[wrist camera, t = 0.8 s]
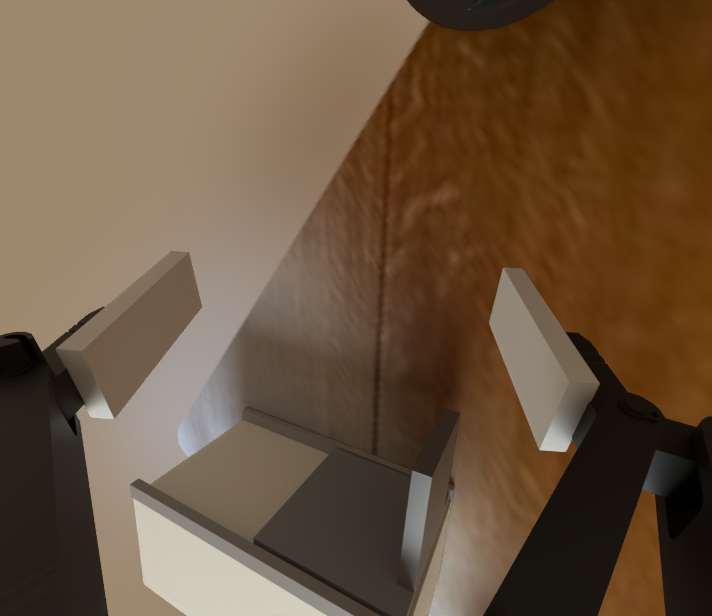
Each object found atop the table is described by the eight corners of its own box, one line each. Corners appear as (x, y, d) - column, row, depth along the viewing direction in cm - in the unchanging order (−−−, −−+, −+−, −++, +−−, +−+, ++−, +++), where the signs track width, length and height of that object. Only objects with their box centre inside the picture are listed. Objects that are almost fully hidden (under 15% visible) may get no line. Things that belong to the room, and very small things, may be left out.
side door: (339, 365, 35) (252, 431, 25) (465, 401, 30) (421, 500, 20) (334, 454, 38) (253, 546, 28) (448, 499, 33) (402, 631, 23)
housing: (247, 407, 44) (129, 484, 31) (454, 486, 34) (400, 643, 22) (248, 487, 47) (142, 585, 35) (438, 580, 37) (383, 763, 25)
